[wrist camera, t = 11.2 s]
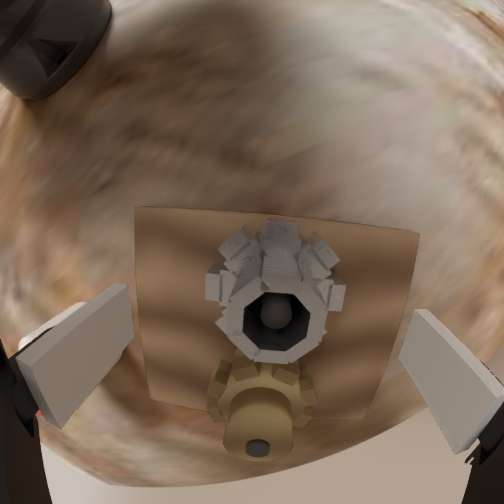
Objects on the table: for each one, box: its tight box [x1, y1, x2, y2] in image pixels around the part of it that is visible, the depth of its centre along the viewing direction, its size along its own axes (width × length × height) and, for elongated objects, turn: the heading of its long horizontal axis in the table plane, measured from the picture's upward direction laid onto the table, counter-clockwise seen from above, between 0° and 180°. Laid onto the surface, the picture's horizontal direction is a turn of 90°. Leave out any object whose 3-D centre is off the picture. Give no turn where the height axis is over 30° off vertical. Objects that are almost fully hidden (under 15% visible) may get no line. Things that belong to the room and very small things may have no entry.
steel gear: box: [205, 217, 346, 364], centre depth 16 cm, size 9×9×7 cm
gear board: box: [135, 206, 420, 462], centre depth 18 cm, size 19×22×9 cm
